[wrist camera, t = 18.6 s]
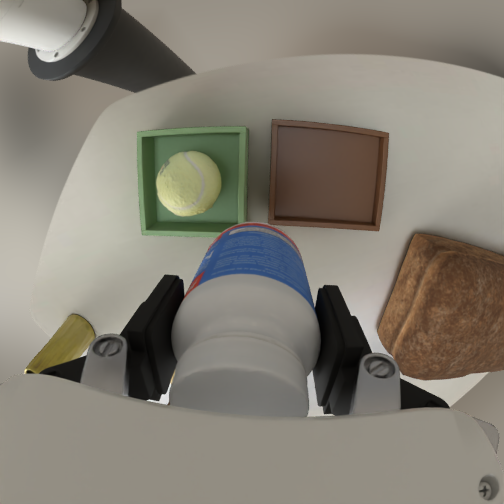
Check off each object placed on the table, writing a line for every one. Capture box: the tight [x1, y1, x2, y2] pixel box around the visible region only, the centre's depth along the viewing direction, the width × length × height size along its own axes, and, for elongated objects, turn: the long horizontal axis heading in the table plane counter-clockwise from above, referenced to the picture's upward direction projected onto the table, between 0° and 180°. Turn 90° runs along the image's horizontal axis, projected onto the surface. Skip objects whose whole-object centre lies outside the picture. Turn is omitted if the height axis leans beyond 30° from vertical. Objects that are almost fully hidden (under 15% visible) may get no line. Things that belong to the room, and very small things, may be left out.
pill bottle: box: [169, 222, 321, 417], centre depth 11 cm, size 6×5×10 cm
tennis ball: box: [156, 151, 221, 217], centre depth 27 cm, size 6×7×7 cm
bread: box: [377, 234, 504, 380], centre depth 28 cm, size 17×30×13 cm, turn 81°
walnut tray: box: [268, 119, 389, 231], centre depth 29 cm, size 11×13×2 cm
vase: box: [25, 315, 95, 374], centre depth 33 cm, size 6×6×14 cm
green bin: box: [137, 126, 249, 238], centre depth 29 cm, size 11×11×4 cm
